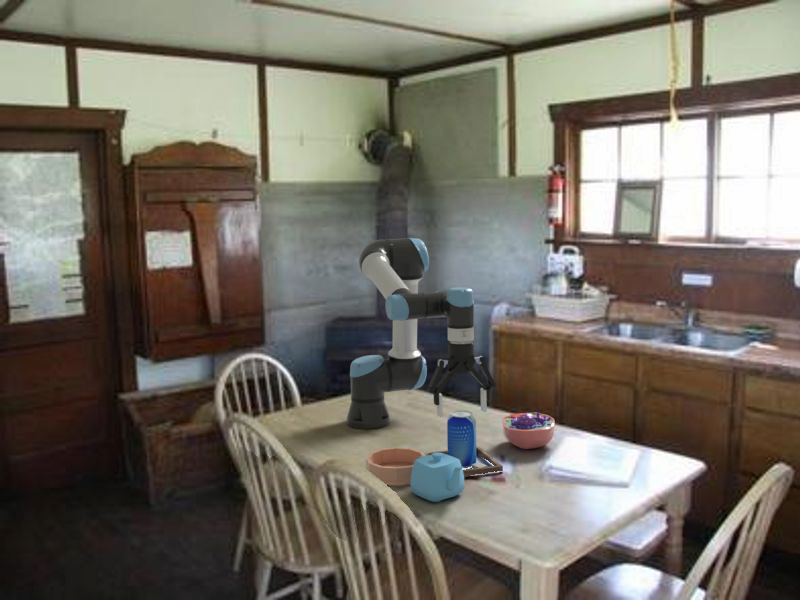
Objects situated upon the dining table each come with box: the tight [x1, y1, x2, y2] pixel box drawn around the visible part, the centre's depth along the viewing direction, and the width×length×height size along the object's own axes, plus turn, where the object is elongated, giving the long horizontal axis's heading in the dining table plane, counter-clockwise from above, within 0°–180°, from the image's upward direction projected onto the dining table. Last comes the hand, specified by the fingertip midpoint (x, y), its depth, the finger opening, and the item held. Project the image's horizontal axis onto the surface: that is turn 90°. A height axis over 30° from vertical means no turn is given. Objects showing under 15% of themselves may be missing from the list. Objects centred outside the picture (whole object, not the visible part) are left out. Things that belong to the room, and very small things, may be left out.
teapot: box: [410, 453, 466, 503], centre depth 203 cm, size 12×18×12 cm
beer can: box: [446, 409, 477, 468], centre depth 224 cm, size 8×8×16 cm
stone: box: [472, 461, 488, 469], centre depth 221 cm, size 4×3×2 cm
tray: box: [423, 446, 504, 479], centre depth 225 cm, size 18×18×2 cm
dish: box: [365, 446, 426, 487], centre depth 220 cm, size 18×18×5 cm
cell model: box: [501, 411, 556, 450], centre depth 241 cm, size 17×20×11 cm
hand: (461, 413), depth 223 cm, fingers open, 13 cm apart
